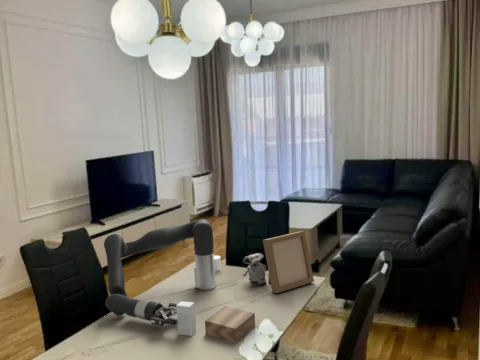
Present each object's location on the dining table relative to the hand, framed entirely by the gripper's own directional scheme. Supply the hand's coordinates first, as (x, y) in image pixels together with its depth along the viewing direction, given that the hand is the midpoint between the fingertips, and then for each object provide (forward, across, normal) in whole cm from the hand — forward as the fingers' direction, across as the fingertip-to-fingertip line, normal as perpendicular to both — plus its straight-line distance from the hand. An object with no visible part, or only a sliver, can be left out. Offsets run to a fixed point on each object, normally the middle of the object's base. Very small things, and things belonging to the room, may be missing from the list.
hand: (182, 317), depth 173 cm
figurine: (+9, -52, -7) cm, 53 cm away
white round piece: (-20, -64, -8) cm, 67 cm away
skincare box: (+3, +1, -6) cm, 6 cm away
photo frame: (+24, -56, -7) cm, 61 cm away
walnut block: (+18, -6, -6) cm, 20 cm away
